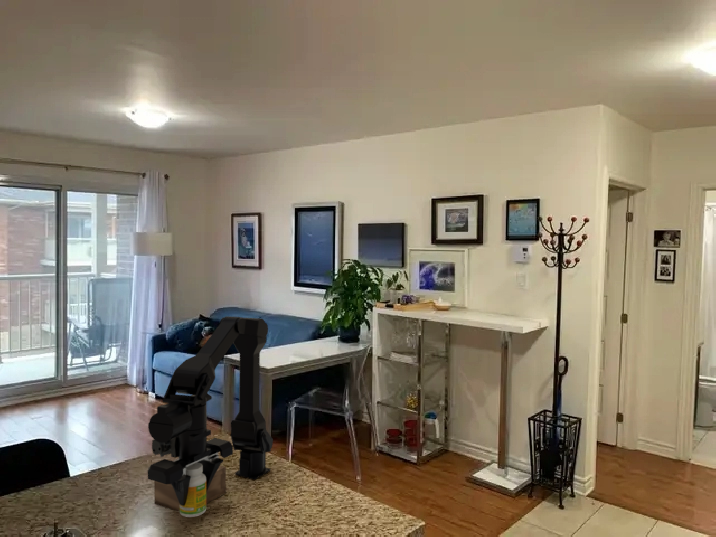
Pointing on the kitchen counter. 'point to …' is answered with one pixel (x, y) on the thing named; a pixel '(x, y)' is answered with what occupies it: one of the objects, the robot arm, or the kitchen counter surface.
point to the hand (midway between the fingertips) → (193, 499)
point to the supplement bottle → (195, 492)
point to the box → (168, 498)
